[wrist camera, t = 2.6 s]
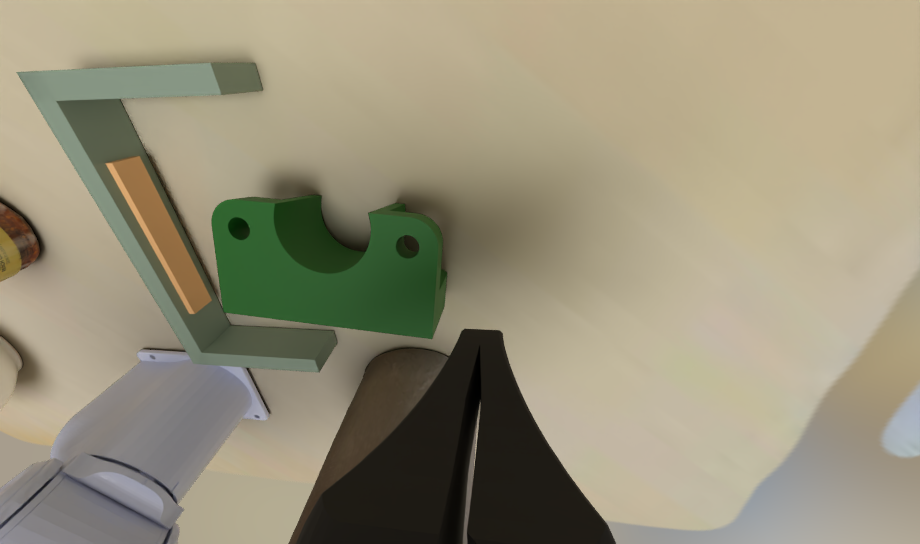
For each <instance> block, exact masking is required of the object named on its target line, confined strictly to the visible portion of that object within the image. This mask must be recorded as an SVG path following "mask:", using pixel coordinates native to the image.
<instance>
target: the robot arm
mask: <svg viewBox="0 0 920 544" xmlns="http://www.w3.org/2000/svg"><path fill="white" fill-rule="evenodd" d="M137 356H138V358H139V359H140V361H141V362H139V363H138V364H137V365H136V366H135V367H133V368H132V369H131V370H130V371H128V372H127V373H126V374H125V375H123V376H122V377H121V378H120V379H119V380H117V381H116V382H115V383H114V384H112V385H111V386H110V387H109V388H107V389H106V390H105V391H104V392H103V393H101V394H100V395H99V396H98V397H96V398H95V399H94V400H93V401H91V402H90V403H89V404H88V405H87V406H85V407H84V408H83V409H82V410H80V411H79V412H78V413H77V414H76V415H74V416H73V417H72V418H71V419H70V420H69V421H68V422H67V423H66V425H65V426H64V427H63V428H62V430H61V431H60V433H59V434H58V436H57V438H56V440H55V442H54V444H53V446H52V450H51V455H50V460H48V461H42V462H37V463H34V464H32V465H31V466H29V467H27V468H26V469H25V470H23V471H22V472H21V473H19V474H18V475H17V476H15V477H14V478H13V479H12V480H10V481H9V482H7V483H6V484H5V485H4V486H2V487H1V488H0V544H177V543H178V536H179V526H178V524H176V523H175V522H176V520H177V519H178V518H179V516H180V515H181V513H182V512H183V511H184V509H183V508H182V507H180V506H179V505H178V504H179V502H180V501H181V500H182V498H183V497H184V496H185V494H186V493H187V492H188V490H189V489H190V488H191V486H192V485H193V484H194V482H195V481H196V480H197V478H198V477H199V476H200V474H201V473H202V472H203V470H204V469H205V468H206V466H207V465H208V464H209V462H210V461H211V460H212V458H213V457H214V456H215V454H216V453H217V452H218V450H219V449H220V448H221V446H222V445H223V444H224V442H225V441H226V440H227V438H228V437H229V436H230V434H231V433H232V432H233V430H234V429H235V428H236V426H237V425H238V423H239V422H240V421H241V419H242V418H244V419H255V420H267V419H268V417H269V413H268V411H267V409H266V407H265V405H264V403H263V401H262V399H261V397H260V395H259V393H258V391H257V389H256V387H255V385H254V383H253V381H252V379H251V377H250V375H249V373H248V371H247V369H246V367H231V366H216V365H202V364H193V362H192V360H191V359H190V357H189V356H188V354H187V352H177V351H161V350H145V349H142V350H140V351H139V352H137ZM480 402H481V409H480V419H479V430H478V439H477V449H476V458H475V467H474V476H473V485H472V493H471V502H470V510H469V518H468V526H467V544H616V542H615V540H614V538H613V536H612V533H611V531H610V529H609V527H608V525H607V523H606V522H605V521H604V520H603V518H602V517H601V516H600V515H599V513H598V512H597V511H596V510H595V508H594V507H593V506H592V505H591V503H590V502H589V501H588V500H587V498H586V497H585V496H584V494H583V493H582V492H581V490H580V489H579V488H578V486H577V485H576V484H575V482H574V481H573V480H572V478H571V477H570V475H569V474H568V473H567V471H566V470H565V468H564V467H563V465H562V464H561V462H560V461H559V459H558V458H557V456H556V455H555V453H554V452H553V450H552V449H551V447H550V446H549V444H548V442H547V441H546V439H545V437H544V436H543V434H542V432H541V431H540V429H539V427H538V425H537V424H536V422H535V420H534V418H533V416H532V414H531V412H530V411H529V409H528V407H527V405H526V402H525V400H524V398H523V396H522V394H521V392H520V389H519V387H518V385H517V382H516V380H515V377H514V375H513V372H512V369H511V367H510V364H509V361H508V357H507V354H506V350H505V346H504V341H503V333H502V332H501V331H498V330H478V329H464V330H463V331H462V332H461V334H460V337H459V339H458V341H457V343H456V345H455V347H454V349H453V351H452V353H451V354H450V356H449V358H448V360H447V361H446V363H445V364H444V366H443V368H442V369H441V371H440V373H439V374H438V376H437V377H436V378H435V380H434V381H433V383H432V384H431V386H430V387H429V388H428V390H427V391H426V393H425V394H424V395H423V397H422V398H421V399H420V400H419V402H418V403H417V404H416V405H415V407H414V408H413V409H412V410H411V411H410V412H409V414H408V415H407V416H406V417H405V418H404V419H403V420H402V421H401V423H400V424H399V425H398V426H397V427H396V428H395V429H394V430H393V431H392V432H391V433H390V434H389V435H388V436H387V437H386V438H385V439H384V440H383V441H382V442H381V443H380V444H379V445H378V446H377V447H376V448H375V449H374V450H373V451H371V452H370V453H369V454H368V455H367V456H366V457H365V458H364V459H363V460H362V461H361V462H360V463H358V464H357V465H356V466H355V467H354V468H353V469H351V470H350V471H349V472H348V473H346V474H345V475H344V476H343V477H341V478H340V479H339V480H338V481H336V482H335V483H334V484H333V485H331V486H330V487H329V488H328V489H326V490H325V491H324V492H323V493H322V494H321V496H320V497H319V499H318V501H317V502H316V504H315V506H314V507H313V509H312V511H311V513H310V515H309V516H308V518H307V520H306V522H305V524H304V526H303V528H302V530H301V533H300V535H299V537H298V540H297V542H296V544H463V533H464V520H465V508H466V495H467V483H468V472H469V465H470V458H471V452H472V446H473V440H474V434H475V428H476V422H477V416H478V410H479V404H480Z"/></svg>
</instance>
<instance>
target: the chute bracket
mask: <svg viewBox="0 0 920 544" xmlns="http://www.w3.org/2000/svg"><path fill="white" fill-rule="evenodd" d="M17 74H18V76H19V77H20V79H21V81H22V82H23V84H24V86H25V87H26V89H27V90H28V92H29V94H30V95H31V97H32V99H33V100H34V102H35V104H36V105H37V107H38V109H39V110H40V112H41V114H42V115H43V117H44V118H45V120H46V122H47V123H48V125H49V127H50V128H51V130H52V132H53V133H54V135H55V137H56V138H57V140H58V141H59V143H60V145H61V146H62V148H63V150H64V151H65V153H66V155H67V156H68V158H69V160H70V161H71V163H72V165H73V166H74V168H75V169H76V171H77V173H78V174H79V176H80V178H81V179H82V181H83V183H84V184H85V186H86V188H87V189H88V191H89V193H90V194H91V196H92V197H93V199H94V201H95V202H96V204H97V206H98V207H99V209H100V211H101V212H102V214H103V216H104V217H105V219H106V221H107V222H108V224H109V225H110V227H111V229H112V230H113V232H114V234H115V235H116V237H117V239H118V240H119V242H120V244H121V245H122V247H123V249H124V250H125V252H126V253H127V255H128V257H129V258H130V260H131V262H132V263H133V265H134V267H135V268H136V270H137V272H138V273H139V275H140V276H141V278H142V280H143V281H144V283H145V285H146V286H147V288H148V290H149V291H150V293H151V295H152V296H153V298H154V300H155V301H156V303H157V304H158V306H159V308H160V309H161V311H162V313H163V314H164V316H165V318H166V319H167V321H168V323H169V324H170V326H171V328H172V329H173V331H174V332H175V334H176V336H177V337H178V339H179V341H180V342H181V344H182V346H183V347H184V349H185V351H186V352H187V354H188V356H189V357H190V359H191V360H192V362H193V364H202V365H216V366H231V367H246V368H260V369H275V370H290V371H305V372H320V370H321V369H322V367H323V365H324V364H325V362H326V360H327V359H328V357H329V356H330V354H331V352H332V351H333V349H334V347H335V346H336V344H337V340H336V337H335V333H334V331H329V330H310V329H291V328H272V327H253V326H234V325H230V323H229V321H228V319H227V317H226V315H225V313H224V312H223V309H222V307H221V305H220V303H219V301H218V299H217V297H216V295H215V293H214V291H213V289H212V286H211V284H210V282H209V280H208V278H207V276H206V274H205V272H204V270H203V268H202V266H201V264H200V262H199V260H198V258H197V256H196V254H195V252H194V250H193V248H192V246H191V244H190V242H189V240H188V238H187V236H186V234H185V231H184V229H183V227H182V225H181V223H180V221H179V219H178V217H177V215H176V213H175V211H174V209H173V207H172V205H171V203H170V201H169V199H168V197H167V195H166V193H165V191H164V189H163V187H162V185H161V183H160V181H159V178H158V176H157V174H156V172H155V170H154V168H153V166H152V164H151V162H150V160H149V158H148V156H147V154H146V152H145V150H144V148H143V146H142V144H141V142H140V140H139V138H138V136H137V134H136V132H135V130H134V128H133V126H132V123H131V121H130V119H129V117H128V115H127V113H126V111H125V109H124V107H123V105H122V103H121V101H120V99H122V98H150V97H178V96H206V95H226V94H235V93H244V92H253V91H262V90H263V88H262V85H261V82H260V78H259V75H258V71H257V68H256V65H255V63H197V64H176V65H155V66H134V67H113V68H93V69H72V70H51V71H30V72H17Z"/></svg>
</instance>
